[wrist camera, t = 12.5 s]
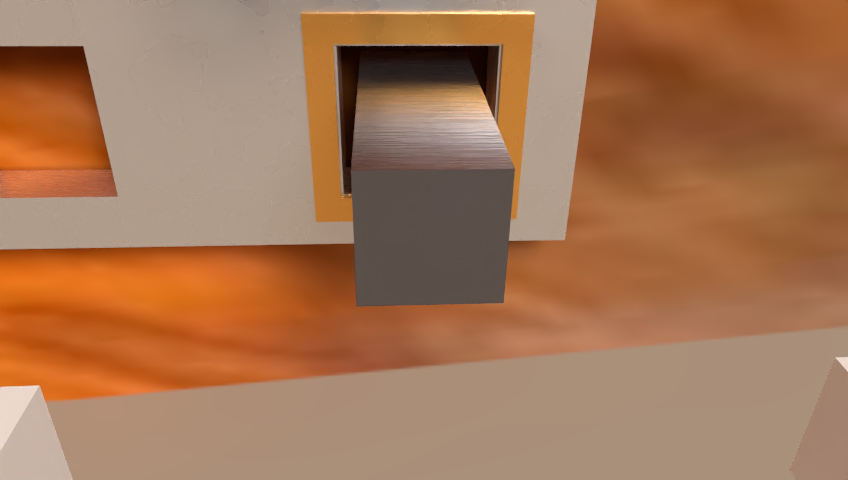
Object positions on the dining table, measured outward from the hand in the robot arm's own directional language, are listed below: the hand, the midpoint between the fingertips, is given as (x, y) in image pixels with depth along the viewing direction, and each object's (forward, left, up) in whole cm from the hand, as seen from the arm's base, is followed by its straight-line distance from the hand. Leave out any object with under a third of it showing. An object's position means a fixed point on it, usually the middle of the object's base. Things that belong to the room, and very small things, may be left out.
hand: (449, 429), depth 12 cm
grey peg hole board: (0, -7, -18) cm, 19 cm away
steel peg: (0, 0, -18) cm, 18 cm away
